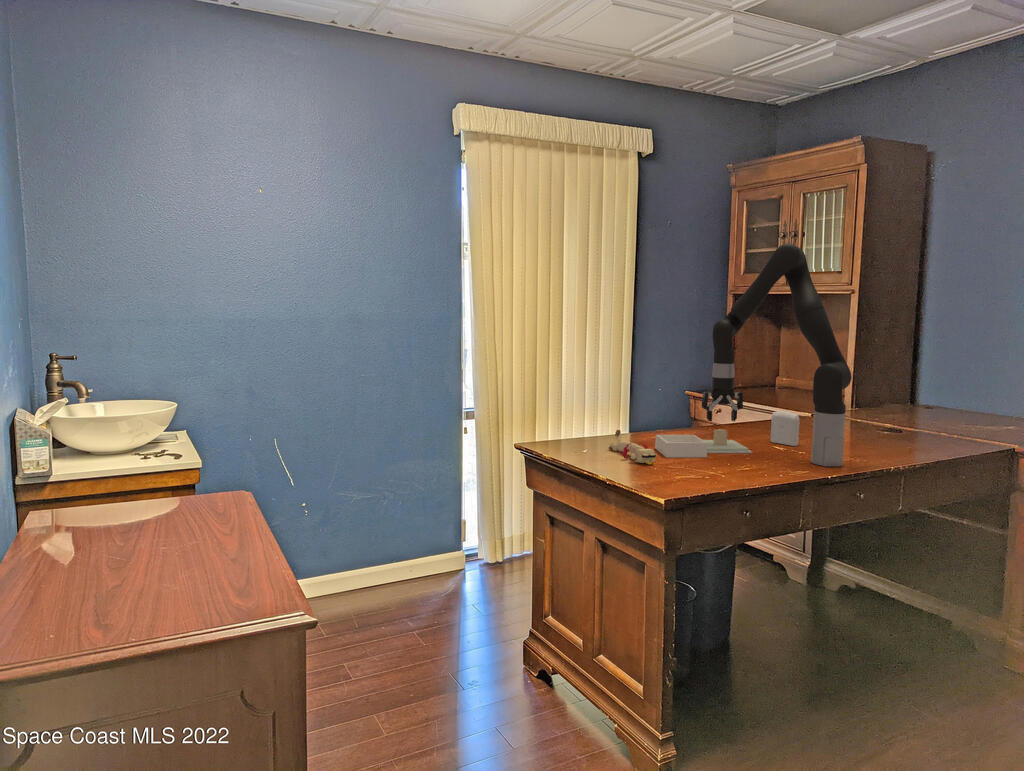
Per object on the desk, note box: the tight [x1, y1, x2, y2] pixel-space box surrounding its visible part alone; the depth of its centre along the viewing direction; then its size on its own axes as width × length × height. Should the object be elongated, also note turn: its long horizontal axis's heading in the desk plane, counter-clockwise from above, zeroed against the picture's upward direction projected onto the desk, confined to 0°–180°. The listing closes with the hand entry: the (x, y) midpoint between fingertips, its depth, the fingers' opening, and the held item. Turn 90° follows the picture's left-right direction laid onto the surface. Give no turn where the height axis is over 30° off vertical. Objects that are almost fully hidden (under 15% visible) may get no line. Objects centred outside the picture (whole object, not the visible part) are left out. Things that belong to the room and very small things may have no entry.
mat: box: [707, 449, 753, 454], centre depth 255 cm, size 17×17×1 cm
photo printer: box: [770, 410, 800, 447], centre depth 263 cm, size 10×4×12 cm, turn 39°
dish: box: [654, 434, 708, 459], centre depth 245 cm, size 14×14×5 cm
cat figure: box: [608, 429, 658, 465], centre depth 238 cm, size 10×9×25 cm
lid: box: [703, 428, 749, 451], centre depth 254 cm, size 15×15×6 cm
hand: (721, 420), depth 253 cm, fingers open, 8 cm apart
